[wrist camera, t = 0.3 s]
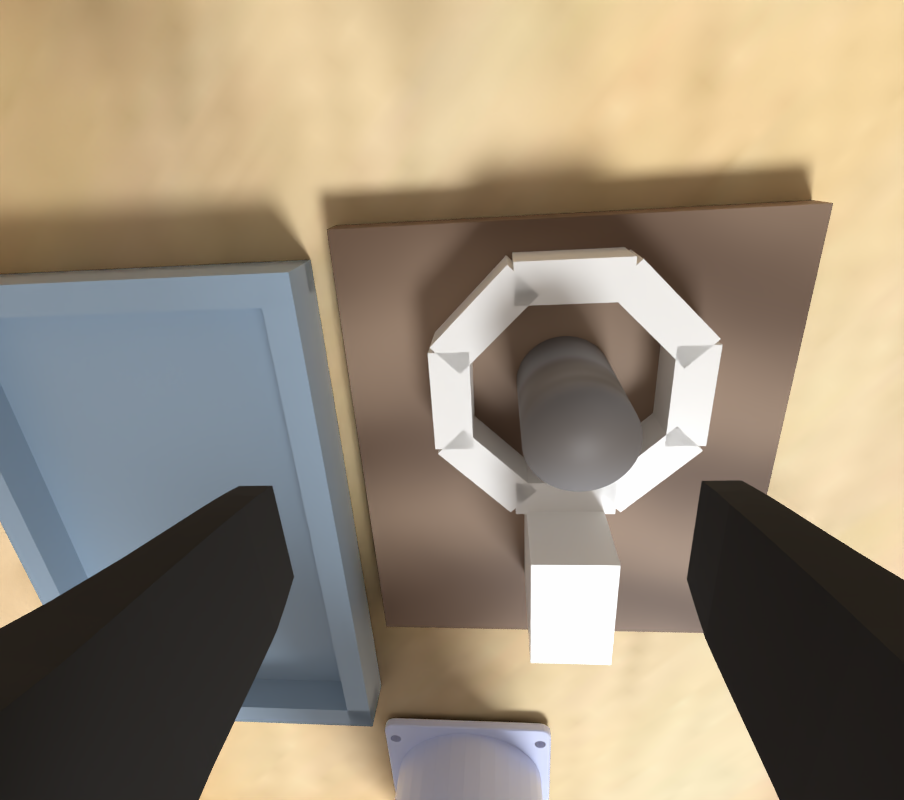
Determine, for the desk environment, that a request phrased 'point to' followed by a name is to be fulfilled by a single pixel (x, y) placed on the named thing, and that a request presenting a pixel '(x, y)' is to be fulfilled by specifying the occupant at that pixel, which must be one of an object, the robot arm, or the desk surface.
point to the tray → (187, 448)
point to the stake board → (458, 516)
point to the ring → (506, 472)
